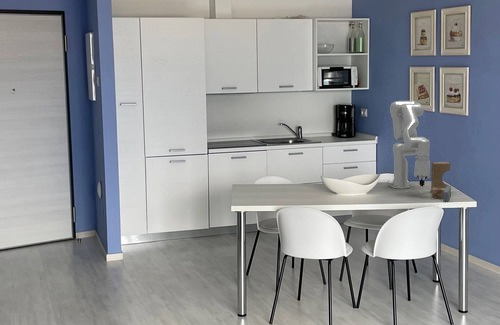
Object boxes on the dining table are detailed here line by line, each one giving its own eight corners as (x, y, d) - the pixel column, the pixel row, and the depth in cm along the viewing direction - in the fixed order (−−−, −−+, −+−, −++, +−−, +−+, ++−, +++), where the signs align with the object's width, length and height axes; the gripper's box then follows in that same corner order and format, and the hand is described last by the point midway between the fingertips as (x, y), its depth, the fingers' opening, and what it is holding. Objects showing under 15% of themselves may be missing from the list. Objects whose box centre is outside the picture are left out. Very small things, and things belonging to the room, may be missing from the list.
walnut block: (431, 198, 445) (431, 189, 444) (432, 196, 452) (433, 187, 451) (444, 199, 442) (444, 190, 441) (445, 197, 449) (445, 188, 448)
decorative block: (446, 191, 468) (447, 161, 465) (449, 192, 463) (450, 163, 460) (430, 191, 467) (431, 162, 464) (433, 193, 461) (434, 163, 458)
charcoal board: (443, 201, 434) (443, 192, 434) (446, 194, 457) (446, 185, 456) (447, 201, 434) (447, 192, 433) (450, 194, 456) (450, 185, 455)
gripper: (410, 158, 447) (409, 186, 451) (434, 160, 442) (432, 188, 446) (412, 156, 454) (410, 183, 458) (435, 157, 449) (434, 185, 453)
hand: (421, 185), depth 452 cm, fingers closed
